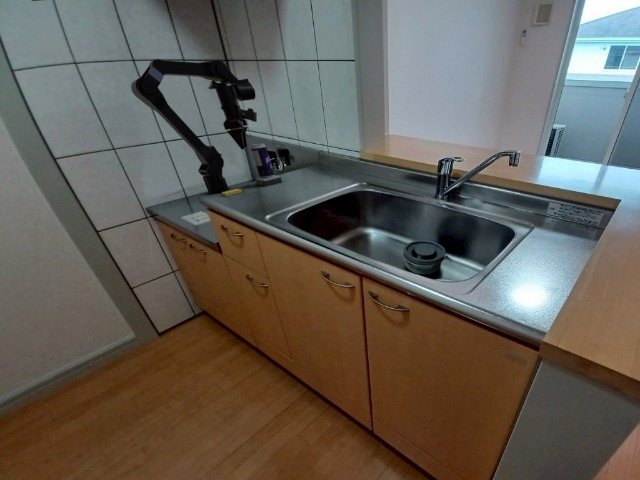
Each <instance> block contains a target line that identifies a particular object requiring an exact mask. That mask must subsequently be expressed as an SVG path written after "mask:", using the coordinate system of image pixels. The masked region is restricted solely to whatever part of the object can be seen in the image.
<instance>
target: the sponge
mask: <svg viewBox="0 0 640 480" xmlns="http://www.w3.org/2000/svg"><path fill="white" fill-rule="evenodd" d="M242 193H243V190H242V189H241V188H235V189H229V190H226V191H224V192H221V195H222V196H224V197H229V196H232V195H237V194H242Z"/></svg>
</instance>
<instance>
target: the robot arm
mask: <svg viewBox="0 0 640 480" xmlns="http://www.w3.org/2000/svg"><path fill="white" fill-rule="evenodd" d="M165 76H172V77H173V76H175V77H180V76H181V77H197V78H198V77H199V78H202V79H205V80H207V81H208V80H209V81H210V84H209V86H208V90H215V92H216V95H217V98H218V101H219V103H220V109H221V111H222V112H223V114H224V117H225V120H224V121H223V123H222V126H223V128H224V130H225V131H226V132H227V134H228V135H229V136H230V137H231V138H232V140H233V141H234V142H235V143H236V145H237V146H238V147H239V148H240V150H245V148H247V147H248V142H247V133H246V131H247V130H248V128H249V124H248V121H251V122H254V123H257V122H258V113H257V112H255V111H254V108H251V107H248V108H247V109H243V108H241V105H239V103H238V101H239V102H244V101H254V100H255V99H256V90H255V88H254V86H253V84H252V83H251V82H250V80H249V78H243V79H239V78H237V76H235V75H234V74H233V72H232V71H231V70H230V69H229V68H228V66H227V64H226V62H224V61H223V60H221V59H213V60H205V61H201V62H195V61H193V62H192V61H180V60H164V59H159V58H154V59H153V60H151V61H150V62H149V65H148V66H147V67H146V69H145V70H144V72H143V73H142V74H141V76H140V77H139V78H136V79H135V80H133V81H132V82H131V85H130V89H131V92H132V94H133V95H134V96H135V97H136V99H138V100H140V102H142V103H143V104H144V105H146V106H147V107H149V108H150V109H152V110H153V111H154V112H156V113H157V114H158V115H159V117H161V118H162V119H163V120H164V121H165V122H166V123H167V124H168V125H169V126H170V127H171V128H172V129H173V130H174V131H175V133H176V134H177V135H178V136H179V137H180V138H181V139H182V140H183V141H184V142H185V143H186V144H187V145H188V146H189V147H190V148H191V149H192V150H193V152H194V154H195V156H196V157H197V159H198V161H199V162H200V166H199V168H198V170H197V172H198V173H199V174H200V175H201V177H202V180H203V182H204V185H205V187H206V189H207V192H206V195H212V194H220V193H221V194H222V192H226V191H229V190H231V189H230V187H229V186H228V183H227V180H226V178H225V177H224V175H223V168H224V167H225V166H224V165H225V160H224V158H223V157H222V156H223V154H221V152H219V151H218V150H217V148H216V147H215V146H214V145H206V144H205V143H204V141H202V140H201V138H199V137H198V136H197V134H196V133H195V132H194V131H193V130H192V129H191V128H190V127H189V125H188V124H187V123H186V122H185V121H184V120H183V119H182V118H181V117H180V116H179V115H178V114H177V112H175V110H174V109H173V108H172V107H171V106H170V104H169V103H168V102H167V100H166V97H165V95H164V94H163V92H162V91H161V89H159V87H160V85H161V83H162V81H163V79H164V77H165ZM247 120H248V121H247Z"/></svg>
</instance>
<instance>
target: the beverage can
mask: <svg viewBox="0 0 640 480" xmlns="http://www.w3.org/2000/svg"><path fill="white" fill-rule="evenodd" d="M250 151H251V155H252V157H253V160H254V161H253V162H254V163H255V167H256V169H257V173H258V176H259V178H263V179H265V178H271V177H273V175H275V172H274V167H273V165H272V161H271V158H270V154H269V151H268V148H267V146H266V145H265V143H264V142H263V143H255V144H250Z"/></svg>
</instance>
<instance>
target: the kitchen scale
mask: <svg viewBox="0 0 640 480" xmlns="http://www.w3.org/2000/svg"><path fill="white" fill-rule="evenodd" d="M255 181H256V185H257V186H261V187H269V186H272V185H276V184H280V183H283V180H282V178H281V176H280V175H275V174H274V175H273V177H271V178H265V179H263V178H261V177H257V178H255Z"/></svg>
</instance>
